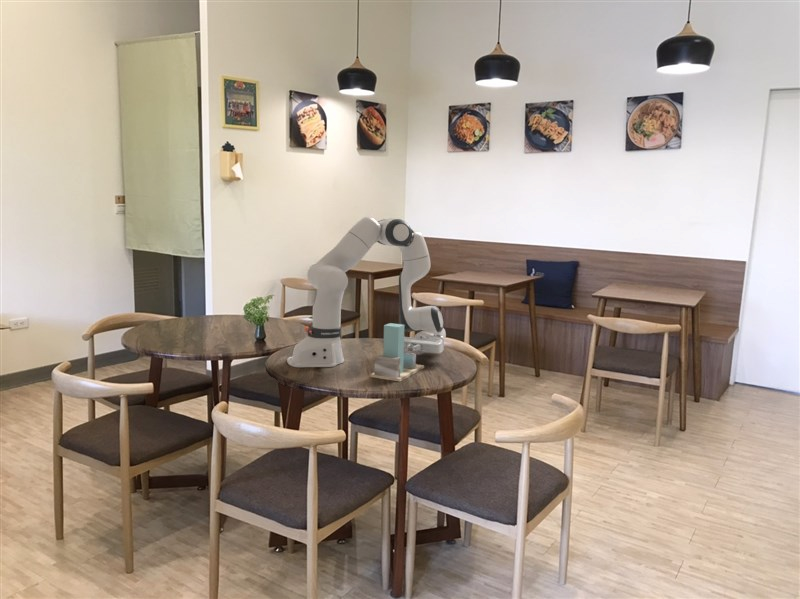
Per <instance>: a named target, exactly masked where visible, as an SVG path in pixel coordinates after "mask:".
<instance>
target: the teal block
mask: <svg viewBox="0 0 800 599" xmlns="http://www.w3.org/2000/svg"><path fill="white" fill-rule="evenodd" d="M404 326H405V325H402V324H400V323H391V322H390V323H389V322H388V323H387V324H384V325H383V347H382V348H383V354H382V355H385V356H392V357H399V358H401V360H400V373H402V372H403V363H404V352H405V349H404V337H405V330H404Z"/></svg>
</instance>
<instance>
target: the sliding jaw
mask: <svg viewBox="0 0 800 599" xmlns="http://www.w3.org/2000/svg"><path fill="white" fill-rule="evenodd" d="M416 364H417V354H416V353H414V352H413V353H412V352H406V351H404V363H403V367H404V368H411V369H413V368H415V367H416Z"/></svg>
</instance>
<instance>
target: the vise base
mask: <svg viewBox="0 0 800 599" xmlns="http://www.w3.org/2000/svg"><path fill="white" fill-rule="evenodd" d="M400 360H401V358H399V357H392V356H385V355H383V354H377V355H375V356H374V372H372V373H370V378H374V379H382V380H387V381H388V380H389V381H395V382H400V383H401V382H402V381H404V380H406V379H407V378H409V377H410V376H413V375H414V374H417V373H418V372H419V370H420V371H421V370H423V369H424V368H425V365H424V364H417V363H416V367H415V368H413V369H411V368H404V367H403V372H402V373H400Z"/></svg>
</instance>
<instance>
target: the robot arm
mask: <svg viewBox="0 0 800 599" xmlns="http://www.w3.org/2000/svg"><path fill="white" fill-rule="evenodd" d="M376 243H378V244H381V245H383V246H389V247H398V248H399V250H400V252H401V256H402V262H403V263H402V264H403V268H402V271H401V272H400V273H399V275H398V276H399V277H398V295H399V296H398V297H399V299H398V300H399V318H398V319H399V320H398V321H399V324H402V325H405V326H404V332H407V333H411V332H416V331H419V332H417V333H416V334H414V336H413V337H412V336H411V337H409V336H404V350H406V351H410V352H415V351H416V352H419V353H422V354H427V353H432V354H441V353H443V352H444V350H445V348H444V347H445V340H446V337H447V333H446V329H445V328H444V326H445V318H444V313H443V312H442V311H441V309H440V308H439V307H438V306H436V305H425V306H420V307H413V306H412V298H411V296H412V294H411V290H412V289H411V288H412V286H413V285H414V284H415V283H416V282H417V281H419V280H421V279H423V278H424V277H426V275H428V274H429V272H430V269H431V266H432V265H431V258H430V257H431V256H430V252H429V249H428V245H427V242H426V240H425V237H424V235H423V234H422V232H420V231H419V230H413V229H412V228H411V226H410V225H409V224H408V222H406V221H405V220H403V219H401V218H386V219H384V218H383V219H381V220H376V219H375V218H373V217H371V216H364V217H363V218H361V219H360V220H358V221H357V222H356V223H355V224H354V225H353V226H352V227H351V228H350V229H349V230H348V231H347V233H345V234H344V236H343V237H342V238H341V239H340V240H339V242H338V243H337V244H336V245H335V246H334V247H333V248H332V249H331V250H330V251H329V252H327V253H326V254H325V255H324V256H323V257H322V258H320V259H319V260H318V261H317V262H315V263H314V264H312V265H311V266H310V267H309V269H308V270H307V272H306V273H307V275H306V278H307V280H308V282H309V284H310V285H311V286H312V287H313V288H315V289H316V296H315V302H314V304H313V306H312V325H311V326H310V327H309V326H308V325H306V326H305V327H304V331H305V332H306V333H307V336H306V337H304V338H303V339H301V341H299V342H298V343H297V344H295V346H294V349H293V353H292V356H289V357H288V358H287V359H286V360H287V361H286V363H287V364H288V365H289V366H290V367H293V368H333V367H336V366H337V365H340V364H342V363H344V362H345V359H344V354H343V349H342V336H343V334H342V333H343V329H342V325H341V321H342V320H341V318H342V315H341V312H342V302H343V297H344V294H345V290H346V289H347V288H348V285H349V278H348V275H347V273H346V272H348V271H349V270H351V269H352V268H355V266H357V265H358V264H359V262H361V261H362V259H363V258H364V256H366V254H368V252H369V251H370V250H371V248H372V247H373V246H374V245H375V244H376Z"/></svg>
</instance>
